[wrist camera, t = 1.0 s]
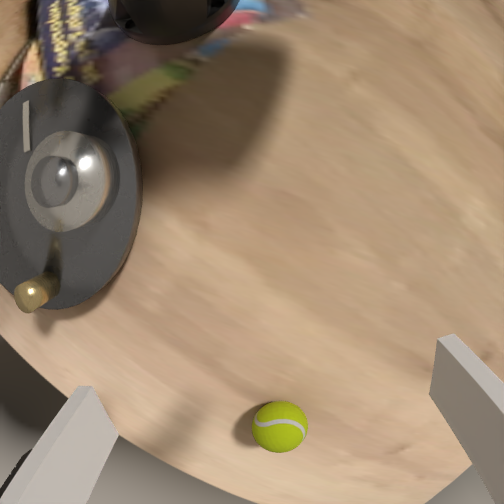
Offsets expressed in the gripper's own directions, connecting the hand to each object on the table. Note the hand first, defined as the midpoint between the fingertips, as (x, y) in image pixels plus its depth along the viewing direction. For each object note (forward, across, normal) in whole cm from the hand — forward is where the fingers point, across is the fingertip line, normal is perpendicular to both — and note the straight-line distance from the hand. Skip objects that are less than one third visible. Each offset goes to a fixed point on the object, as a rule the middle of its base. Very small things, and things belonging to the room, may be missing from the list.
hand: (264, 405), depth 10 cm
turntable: (+21, -23, +11) cm, 33 cm away
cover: (+19, -16, +11) cm, 27 cm away
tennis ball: (+22, -1, -21) cm, 31 cm away
